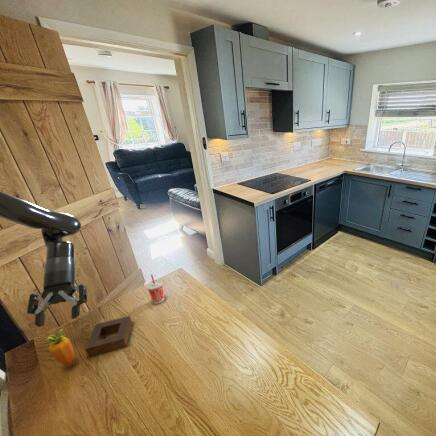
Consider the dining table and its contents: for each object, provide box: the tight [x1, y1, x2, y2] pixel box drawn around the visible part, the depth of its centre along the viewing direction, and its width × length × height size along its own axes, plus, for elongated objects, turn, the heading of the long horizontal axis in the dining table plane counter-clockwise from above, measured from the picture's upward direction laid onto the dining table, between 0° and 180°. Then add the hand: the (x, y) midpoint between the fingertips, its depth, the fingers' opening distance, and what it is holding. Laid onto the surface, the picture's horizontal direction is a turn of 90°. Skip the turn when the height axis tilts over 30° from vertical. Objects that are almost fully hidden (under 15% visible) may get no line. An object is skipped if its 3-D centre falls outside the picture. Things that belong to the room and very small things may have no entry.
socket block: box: [85, 315, 133, 358], centre depth 87 cm, size 11×11×4 cm
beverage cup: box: [145, 274, 165, 305], centre depth 103 cm, size 6×6×14 cm
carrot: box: [46, 328, 75, 368], centre depth 75 cm, size 5×5×15 cm
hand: (57, 322), depth 75 cm, fingers open, 8 cm apart
